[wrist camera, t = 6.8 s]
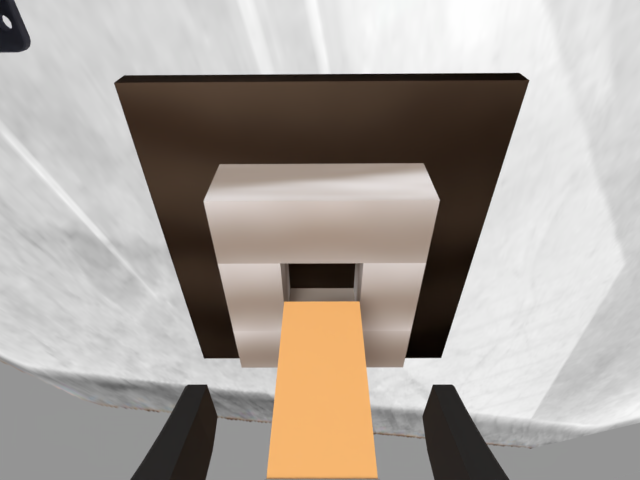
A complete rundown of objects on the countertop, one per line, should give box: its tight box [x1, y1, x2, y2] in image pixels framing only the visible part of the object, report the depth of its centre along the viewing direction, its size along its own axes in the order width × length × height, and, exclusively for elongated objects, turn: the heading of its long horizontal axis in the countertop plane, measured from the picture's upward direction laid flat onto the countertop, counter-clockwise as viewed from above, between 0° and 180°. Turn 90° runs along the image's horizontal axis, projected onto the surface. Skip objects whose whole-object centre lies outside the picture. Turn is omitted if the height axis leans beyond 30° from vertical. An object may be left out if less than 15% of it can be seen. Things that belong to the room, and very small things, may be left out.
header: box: [114, 73, 529, 368], centre depth 20 cm, size 18×16×4 cm
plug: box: [264, 301, 380, 480], centre depth 14 cm, size 4×3×7 cm
